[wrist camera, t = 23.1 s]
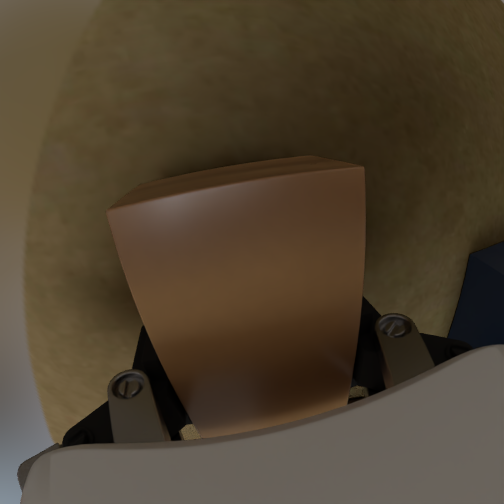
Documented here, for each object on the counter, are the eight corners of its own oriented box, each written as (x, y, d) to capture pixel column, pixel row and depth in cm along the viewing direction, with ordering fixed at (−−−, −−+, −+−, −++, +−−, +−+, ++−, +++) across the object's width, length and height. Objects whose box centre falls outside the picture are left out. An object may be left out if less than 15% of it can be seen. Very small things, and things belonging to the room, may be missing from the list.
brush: (151, 175, 9) (103, 210, 5) (290, 151, 10) (365, 166, 5) (213, 390, 14) (223, 472, 9) (305, 370, 14) (338, 445, 9)
